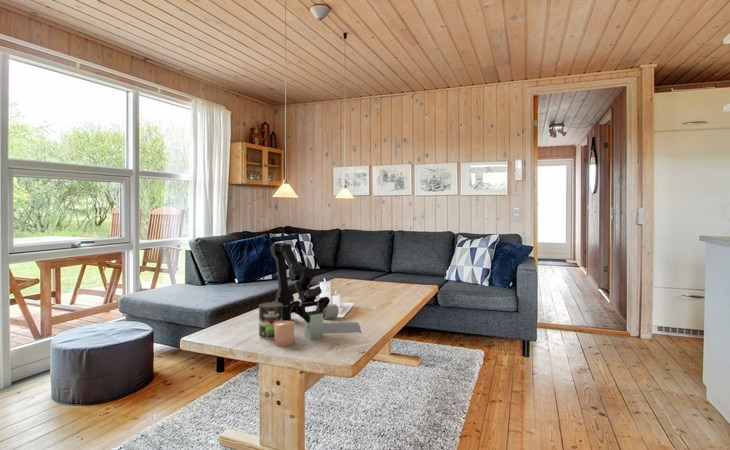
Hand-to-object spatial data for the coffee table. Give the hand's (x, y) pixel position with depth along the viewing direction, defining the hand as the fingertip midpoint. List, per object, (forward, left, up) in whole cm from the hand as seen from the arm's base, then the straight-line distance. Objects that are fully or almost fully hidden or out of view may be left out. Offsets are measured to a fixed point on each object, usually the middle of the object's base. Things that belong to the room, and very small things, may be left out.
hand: (315, 321), depth 177 cm
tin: (-1, +1, -8) cm, 8 cm away
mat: (+11, +13, -8) cm, 19 cm away
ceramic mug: (+5, +33, -8) cm, 34 cm away
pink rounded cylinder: (-13, -7, -8) cm, 16 cm away
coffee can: (-20, +5, -8) cm, 22 cm away
